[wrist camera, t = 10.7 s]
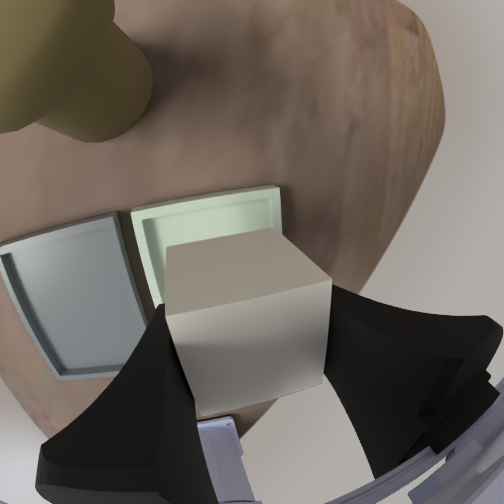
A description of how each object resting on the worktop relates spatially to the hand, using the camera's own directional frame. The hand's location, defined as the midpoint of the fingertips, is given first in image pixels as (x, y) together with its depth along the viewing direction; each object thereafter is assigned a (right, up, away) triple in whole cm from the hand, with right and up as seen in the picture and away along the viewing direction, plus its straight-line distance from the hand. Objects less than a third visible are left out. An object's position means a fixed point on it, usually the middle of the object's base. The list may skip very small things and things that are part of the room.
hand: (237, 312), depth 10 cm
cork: (-8, +11, +1) cm, 13 cm away
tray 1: (-11, -1, +5) cm, 12 cm away
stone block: (0, +1, +1) cm, 2 cm away
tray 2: (-2, 0, +7) cm, 8 cm away
